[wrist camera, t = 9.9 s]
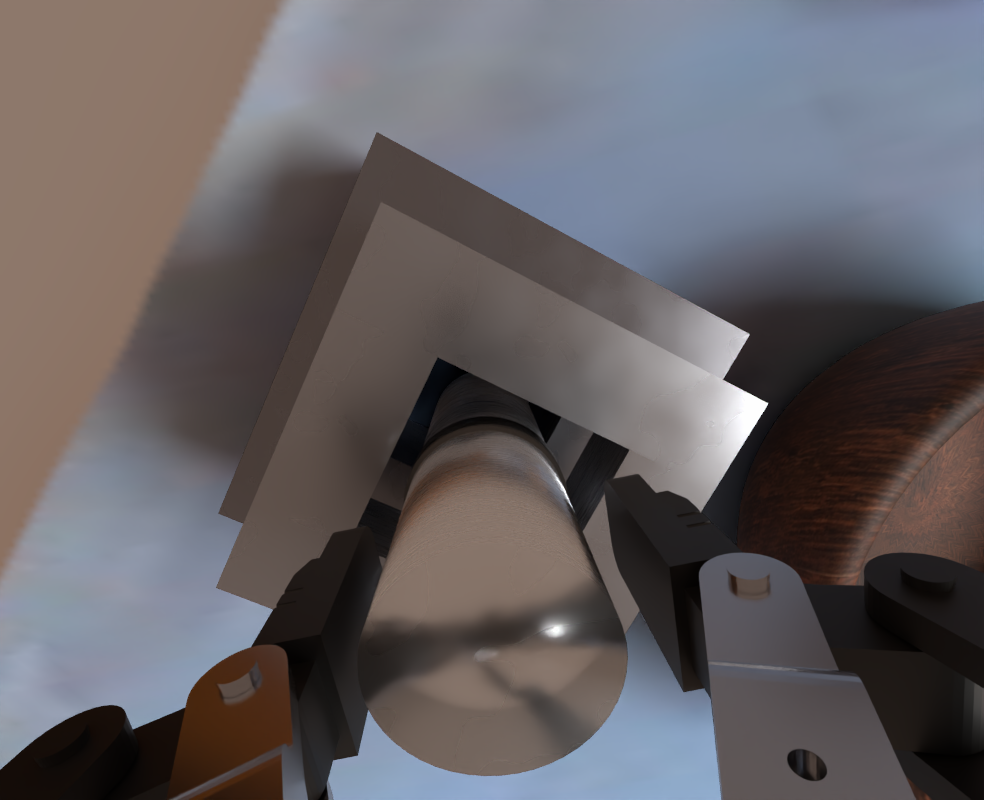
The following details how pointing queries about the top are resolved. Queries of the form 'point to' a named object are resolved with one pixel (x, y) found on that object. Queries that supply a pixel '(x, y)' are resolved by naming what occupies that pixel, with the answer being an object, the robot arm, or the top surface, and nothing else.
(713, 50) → the top surface
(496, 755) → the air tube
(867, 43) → the top surface
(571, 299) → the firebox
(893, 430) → the wooden bowl
